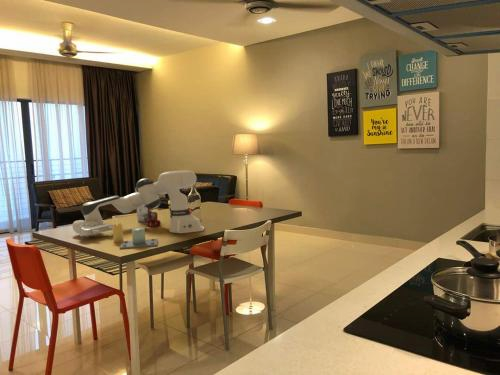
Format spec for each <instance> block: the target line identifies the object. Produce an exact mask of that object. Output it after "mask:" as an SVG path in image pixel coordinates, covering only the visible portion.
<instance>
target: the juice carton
mask: <svg viewBox="0 0 500 375" xmlns="http://www.w3.org/2000/svg"><path fill="white" fill-rule="evenodd" d="M134 191H135V192H134V193H136V192H139V191H138V189H137V187H135V188H134ZM144 206H146V205H145V204H143V205H141V206H139V207H138V208H136V217H137V218H136V219H137V222H139V223H141V222H142V223H143V222H145V223H146V221H148V214H149V211H151V212H153V209H148V208H146V207H144Z"/></svg>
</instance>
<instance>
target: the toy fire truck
mask: <svg viewBox="0 0 500 375" xmlns="http://www.w3.org/2000/svg"><path fill="white" fill-rule="evenodd" d="M145 223H146V224H145V225H146V226H147V227H150V228H154V226H156V227H160V226H161V224H162V223H161V220H158V212H155V211H152V212H151V211H149V214H148V221H146V222H145Z"/></svg>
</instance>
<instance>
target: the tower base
mask: <svg viewBox="0 0 500 375" xmlns="http://www.w3.org/2000/svg"><path fill="white" fill-rule="evenodd" d="M145 230H146V229H145V228H144V227H137V228H135V227H134V228H132V229H131V236H132V240H124V241H123V242H120V246H119V250H129V249H139V248H152V247H158V242H159V241H158V238H151V239H150V238H149V239H146V231H145Z"/></svg>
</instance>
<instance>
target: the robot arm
mask: <svg viewBox="0 0 500 375" xmlns="http://www.w3.org/2000/svg"><path fill="white" fill-rule="evenodd" d="M196 182H197V175H196V173H195V172H194V171H192V170H187V169H186V170H184V169H183V170H171V171H164V172H162V173H160V174H159V175H158V178H157V181H155V182H154V179H150V178H148V177H147V178H145V177H144V178H141V179H139V180H138V181H137V182H136V184H135V186H136V187H137V189H138V191H139V192H136V193H135V192H133V193H130V194H127V195H124V196H121V197H120V196H119V195H112V196H108V197H104V198H101V199H97V200H93V201H88V202H84V203H83V204H82V205H81V208H80V212H81V213H82V215H83V217H84V220H83V219H79V220H75V221H73V223H72V230H73V232H74V233H76V234H78V235H79V236H80V237H86V236H88V237H89V236H90V237H91V236H92V237H93V236H96V235H97V234H100V233H104V232H109V231H113V225H114V223H109V222H108V223H107V222H106V223H104V220H103V217H102V215H101V213H100V210H99V208H100V207H104V206H107V205H112V206H113V207H114V208H115V209H116V210H117V211H118V212H120V213H123V214H128V213H130V212H132V211H134V210H137V208H138V207H139V206H141V205H143V204H145V205H146V206H144V207H146V208H148V209H152V210H155V209H158V207H159V206H160V205H161V204H162V201H161V198H160V196H159V195H166V194H167V195H168V198H169V203H170V204H169V205H170V206H169V207H170V209H169V210H170V211H169V217H170V224H169V225H170V227H169V230H168V231H169V232H170V233H173V234H175V233H176V234H189V233H196V232H202V231H204V230H205V227H204V225H201V221H200V219H199V218H198V217H196V216H195V215H193V214H192V213H193V210H192V209H190V208H189V204H188V202H189V201H188V196H187V195H186V194H184V193H182V192H181V191H180V190H181V189H185V188H189V187H192V186H194V185H195V184H196Z"/></svg>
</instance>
